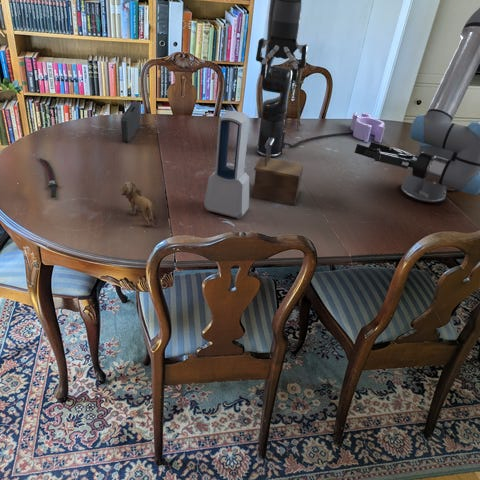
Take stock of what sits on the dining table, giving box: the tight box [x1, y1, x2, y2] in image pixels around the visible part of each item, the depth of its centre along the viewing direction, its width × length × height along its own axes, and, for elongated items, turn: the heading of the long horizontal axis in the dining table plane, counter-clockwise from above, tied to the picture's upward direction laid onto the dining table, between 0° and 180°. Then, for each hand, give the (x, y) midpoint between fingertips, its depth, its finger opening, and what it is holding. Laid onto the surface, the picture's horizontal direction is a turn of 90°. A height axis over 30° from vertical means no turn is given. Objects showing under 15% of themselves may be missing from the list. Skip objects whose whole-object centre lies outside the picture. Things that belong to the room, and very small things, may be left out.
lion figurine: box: [119, 181, 159, 227], centre depth 134 cm, size 15×5×9 cm, turn 50°
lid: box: [253, 137, 305, 178], centre depth 148 cm, size 14×10×9 cm
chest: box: [252, 168, 304, 206], centre depth 153 cm, size 14×10×10 cm
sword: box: [40, 158, 59, 198], centre depth 151 cm, size 31×3×1 cm, turn 26°
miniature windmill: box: [285, 64, 305, 131], centre depth 208 cm, size 9×8×30 cm
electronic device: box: [203, 110, 251, 220], centre depth 135 cm, size 12×8×30 cm, turn 71°
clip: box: [349, 112, 386, 144], centre depth 214 cm, size 20×12×7 cm, turn 11°
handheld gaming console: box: [120, 101, 141, 143], centre depth 188 cm, size 23×3×10 cm, turn 178°
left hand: (278, 79), depth 137 cm, fingers open, 8 cm apart
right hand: (363, 146), depth 149 cm, fingers open, 13 cm apart
